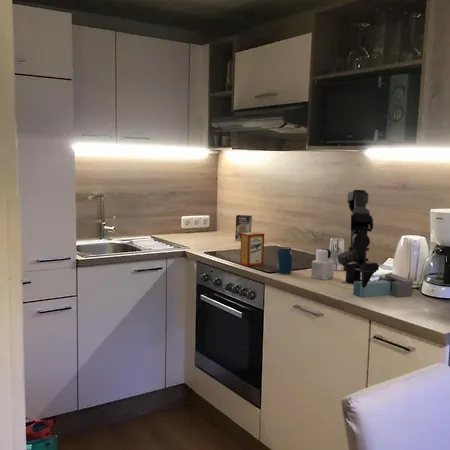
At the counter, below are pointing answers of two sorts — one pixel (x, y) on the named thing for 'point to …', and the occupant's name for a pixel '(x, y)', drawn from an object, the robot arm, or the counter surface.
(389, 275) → the header
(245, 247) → the baking soda box
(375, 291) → the teal rectangular block
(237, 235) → the coffee box
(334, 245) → the beer glass
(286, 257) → the soda can
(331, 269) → the container
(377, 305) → the counter surface
